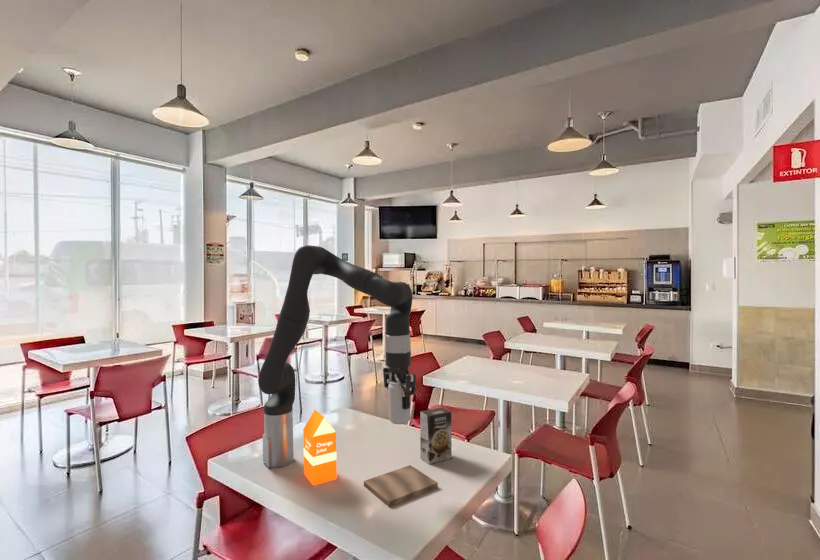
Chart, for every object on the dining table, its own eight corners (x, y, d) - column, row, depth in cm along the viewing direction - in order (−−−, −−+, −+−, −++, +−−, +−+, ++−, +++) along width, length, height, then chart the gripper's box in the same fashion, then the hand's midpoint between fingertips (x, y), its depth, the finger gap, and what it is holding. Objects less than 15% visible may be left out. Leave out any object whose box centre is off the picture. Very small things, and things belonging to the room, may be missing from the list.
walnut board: (389, 507, 112) (389, 501, 112) (363, 486, 124) (363, 481, 124) (437, 487, 122) (437, 482, 122) (410, 469, 133) (410, 465, 133)
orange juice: (312, 485, 124) (311, 419, 124) (303, 474, 132) (302, 411, 131) (337, 478, 128) (336, 414, 128) (327, 467, 136) (326, 406, 136)
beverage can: (408, 425, 119) (407, 384, 119) (386, 424, 120) (385, 383, 120) (412, 418, 125) (411, 378, 125) (391, 417, 127) (391, 378, 126)
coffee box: (429, 465, 137) (428, 416, 136) (419, 457, 142) (419, 410, 142) (452, 458, 141) (452, 411, 141) (442, 451, 147) (441, 406, 146)
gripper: (374, 348, 126) (375, 402, 126) (401, 354, 115) (402, 415, 115) (395, 345, 131) (396, 398, 131) (423, 351, 119) (424, 409, 119)
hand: (399, 405), depth 123 cm, fingers closed on beverage can, 6 cm apart
